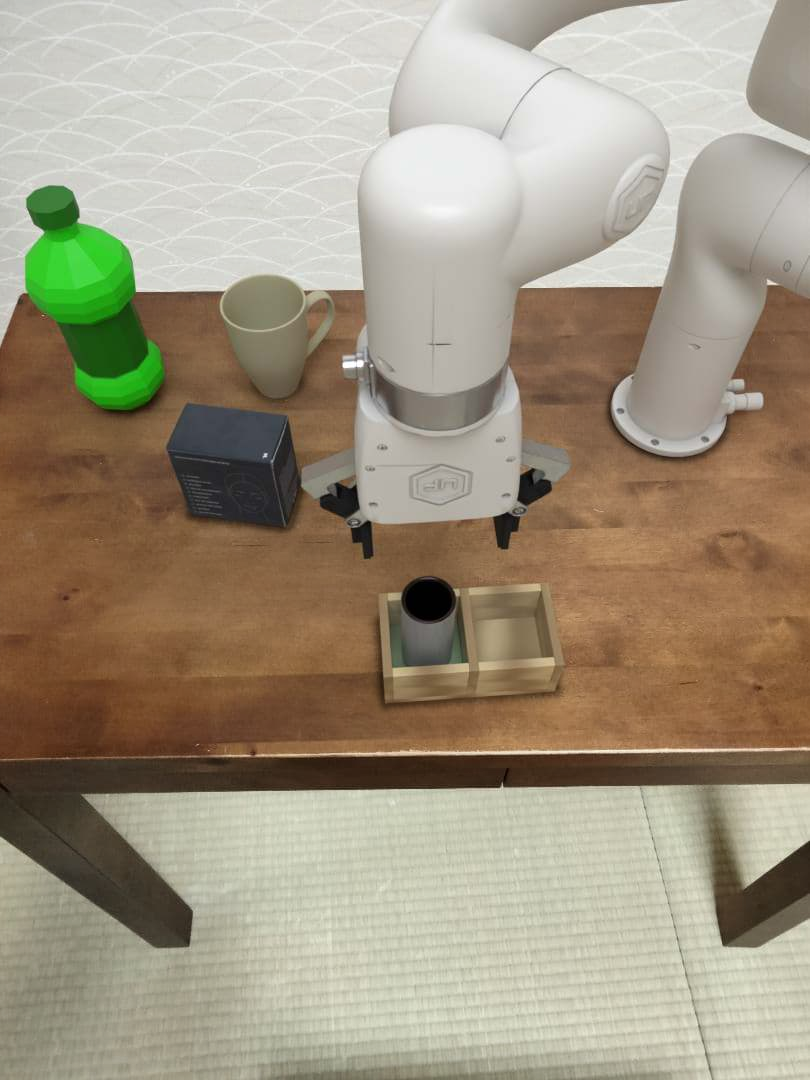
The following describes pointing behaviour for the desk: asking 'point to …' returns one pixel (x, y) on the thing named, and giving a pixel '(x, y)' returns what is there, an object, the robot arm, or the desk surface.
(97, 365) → the plastic bottle
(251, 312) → the mug
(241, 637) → the desk surface
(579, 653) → the desk surface
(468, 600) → the wooden divided tray
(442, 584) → the grey hollow cylinder
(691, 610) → the desk surface
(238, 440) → the box
